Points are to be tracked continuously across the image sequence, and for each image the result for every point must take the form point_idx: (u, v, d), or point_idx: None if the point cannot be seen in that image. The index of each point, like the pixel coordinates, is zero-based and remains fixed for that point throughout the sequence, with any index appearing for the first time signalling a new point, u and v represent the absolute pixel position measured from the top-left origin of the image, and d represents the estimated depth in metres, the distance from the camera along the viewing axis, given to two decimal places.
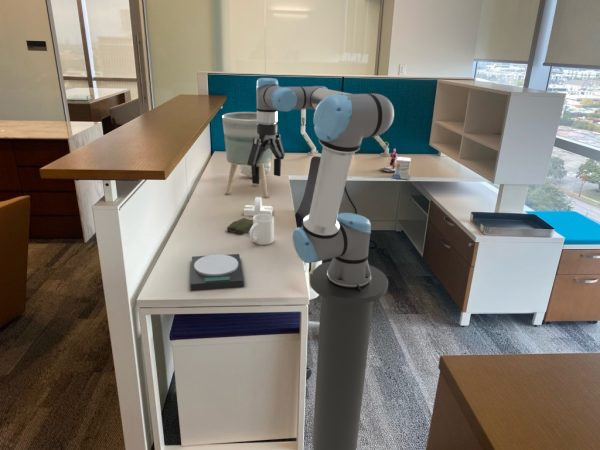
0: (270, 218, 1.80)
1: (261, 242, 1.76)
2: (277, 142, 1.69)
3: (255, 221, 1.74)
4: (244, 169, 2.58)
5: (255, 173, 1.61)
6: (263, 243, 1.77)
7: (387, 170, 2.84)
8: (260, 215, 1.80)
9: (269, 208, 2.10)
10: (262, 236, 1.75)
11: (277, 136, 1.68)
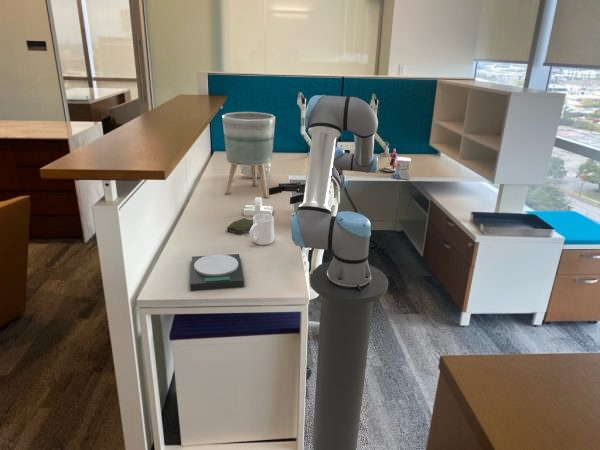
0: (270, 218, 1.80)
1: (261, 242, 1.76)
2: None
3: (255, 221, 1.74)
4: (244, 169, 2.58)
5: None
6: (263, 243, 1.77)
7: (387, 170, 2.84)
8: (260, 215, 1.80)
9: (269, 208, 2.10)
10: (262, 236, 1.75)
11: None
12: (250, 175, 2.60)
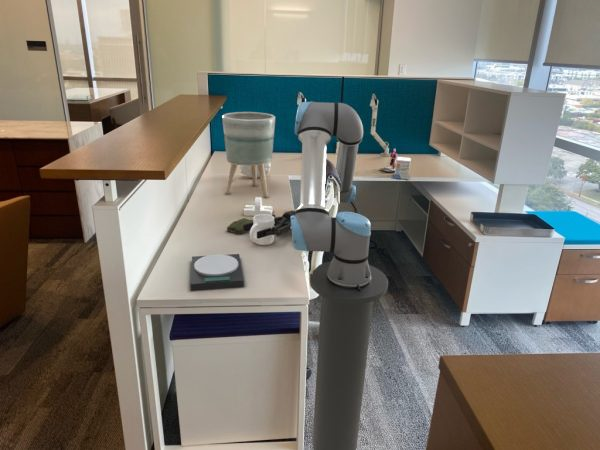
0: (270, 218, 1.80)
1: (261, 242, 1.76)
2: None
3: (255, 221, 1.74)
4: (244, 169, 2.58)
5: (250, 223, 1.80)
6: (263, 243, 1.76)
7: (387, 170, 2.84)
8: (260, 215, 1.80)
9: (269, 208, 2.10)
10: None
11: None
12: (250, 175, 2.60)
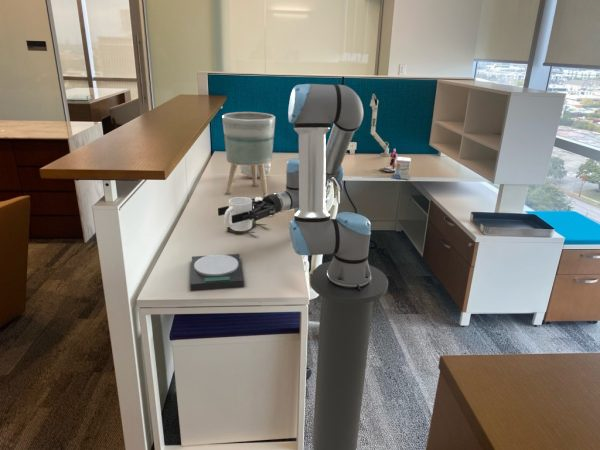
0: (248, 201, 1.62)
1: (238, 228, 1.59)
2: None
3: (231, 204, 1.56)
4: (244, 169, 2.58)
5: None
6: (240, 229, 1.59)
7: (387, 170, 2.84)
8: (237, 198, 1.62)
9: None
10: None
11: None
12: (250, 175, 2.60)
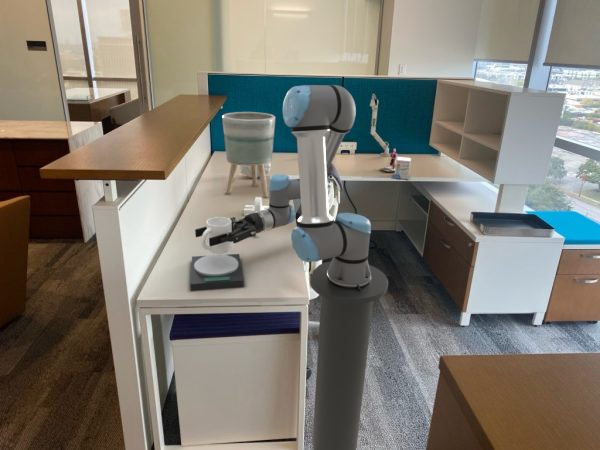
0: (228, 222, 1.53)
1: (216, 250, 1.49)
2: None
3: (208, 226, 1.47)
4: (244, 169, 2.58)
5: None
6: (218, 252, 1.49)
7: (387, 170, 2.84)
8: (216, 218, 1.53)
9: None
10: None
11: None
12: (250, 175, 2.60)
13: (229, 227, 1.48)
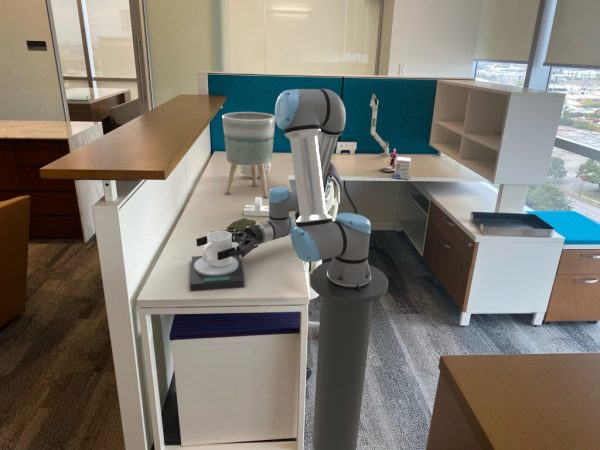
0: (228, 236, 1.55)
1: (217, 264, 1.51)
2: None
3: (209, 240, 1.49)
4: (244, 169, 2.58)
5: None
6: (219, 265, 1.51)
7: (387, 170, 2.84)
8: (216, 232, 1.55)
9: None
10: None
11: None
12: (250, 175, 2.60)
13: (229, 241, 1.50)
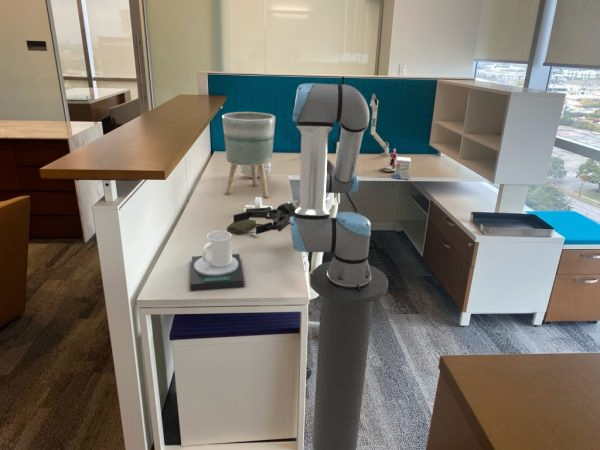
0: (228, 236, 1.55)
1: (217, 264, 1.51)
2: None
3: (209, 240, 1.49)
4: (244, 169, 2.58)
5: None
6: (219, 265, 1.51)
7: (387, 170, 2.84)
8: (216, 232, 1.55)
9: None
10: (218, 257, 1.50)
11: None
12: (250, 175, 2.60)
13: (229, 241, 1.50)
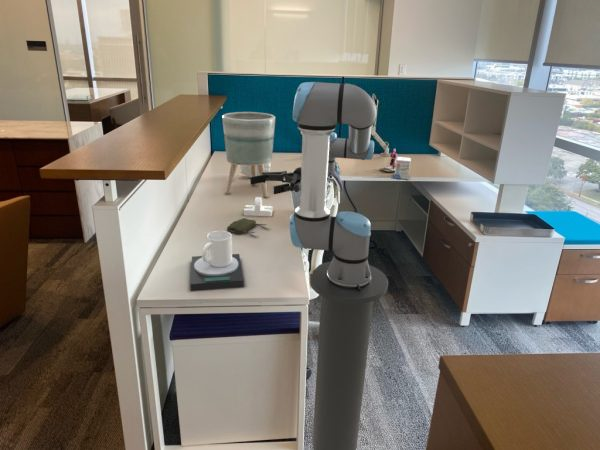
0: (228, 236, 1.55)
1: (217, 264, 1.51)
2: None
3: (209, 240, 1.49)
4: (244, 169, 2.58)
5: None
6: (219, 265, 1.51)
7: (387, 170, 2.84)
8: (216, 232, 1.55)
9: (269, 208, 2.10)
10: (218, 257, 1.50)
11: None
12: (250, 175, 2.60)
13: (229, 241, 1.50)
